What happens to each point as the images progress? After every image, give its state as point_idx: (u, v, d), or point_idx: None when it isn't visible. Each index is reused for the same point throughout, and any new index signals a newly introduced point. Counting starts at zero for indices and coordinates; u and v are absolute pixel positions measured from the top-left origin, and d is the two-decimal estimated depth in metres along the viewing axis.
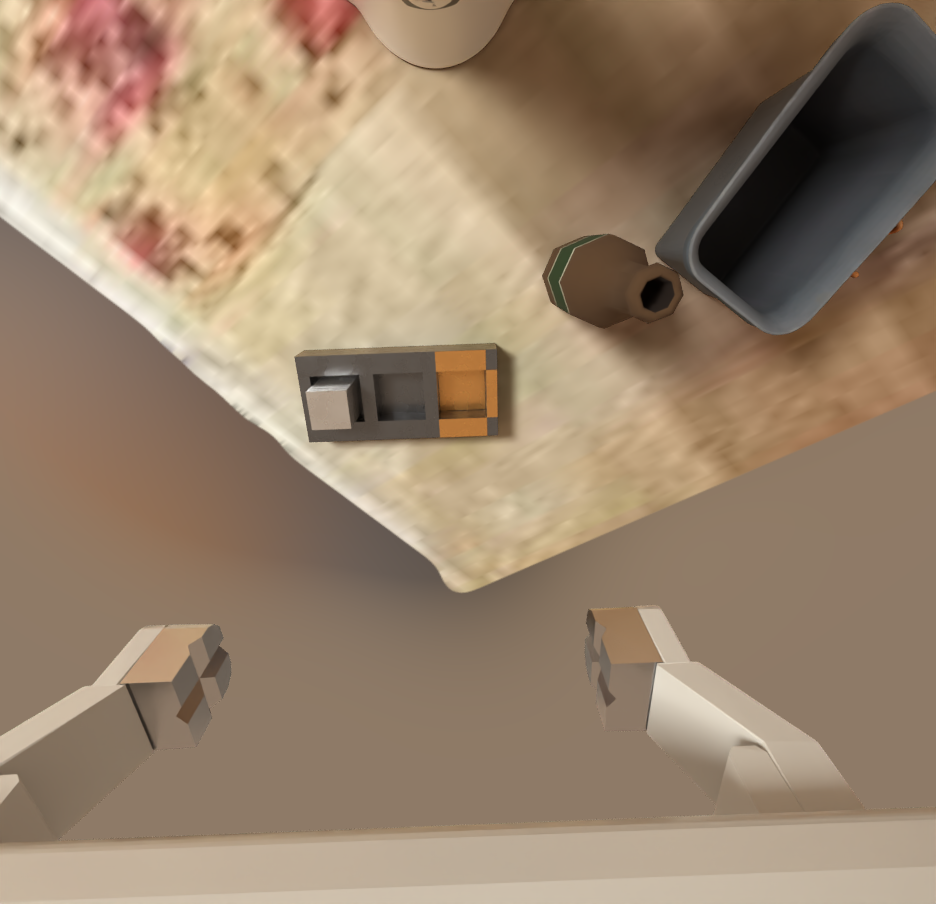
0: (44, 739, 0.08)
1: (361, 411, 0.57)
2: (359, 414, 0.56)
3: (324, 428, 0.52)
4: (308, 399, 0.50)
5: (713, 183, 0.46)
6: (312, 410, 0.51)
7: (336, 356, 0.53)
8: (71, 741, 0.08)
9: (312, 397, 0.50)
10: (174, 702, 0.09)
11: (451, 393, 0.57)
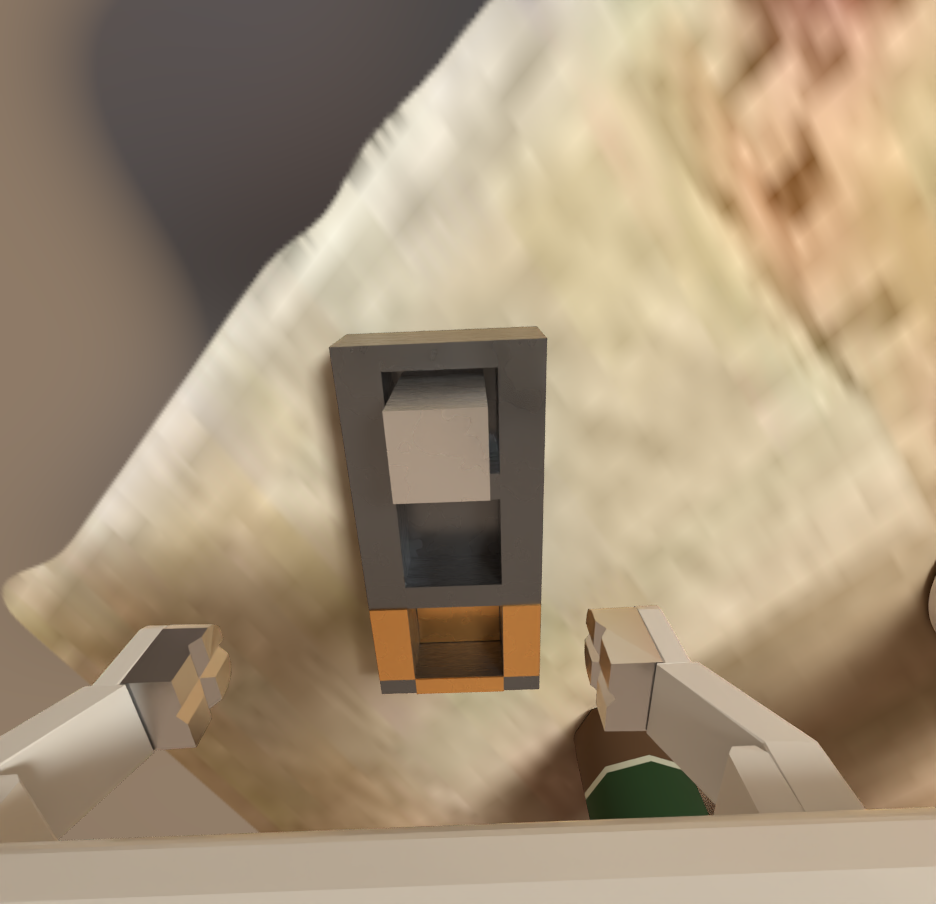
0: (45, 739, 0.08)
1: None
2: None
3: (389, 443, 0.20)
4: (467, 412, 0.19)
5: None
6: (437, 418, 0.19)
7: (541, 431, 0.24)
8: (71, 741, 0.08)
9: (473, 422, 0.19)
10: (174, 702, 0.09)
11: None
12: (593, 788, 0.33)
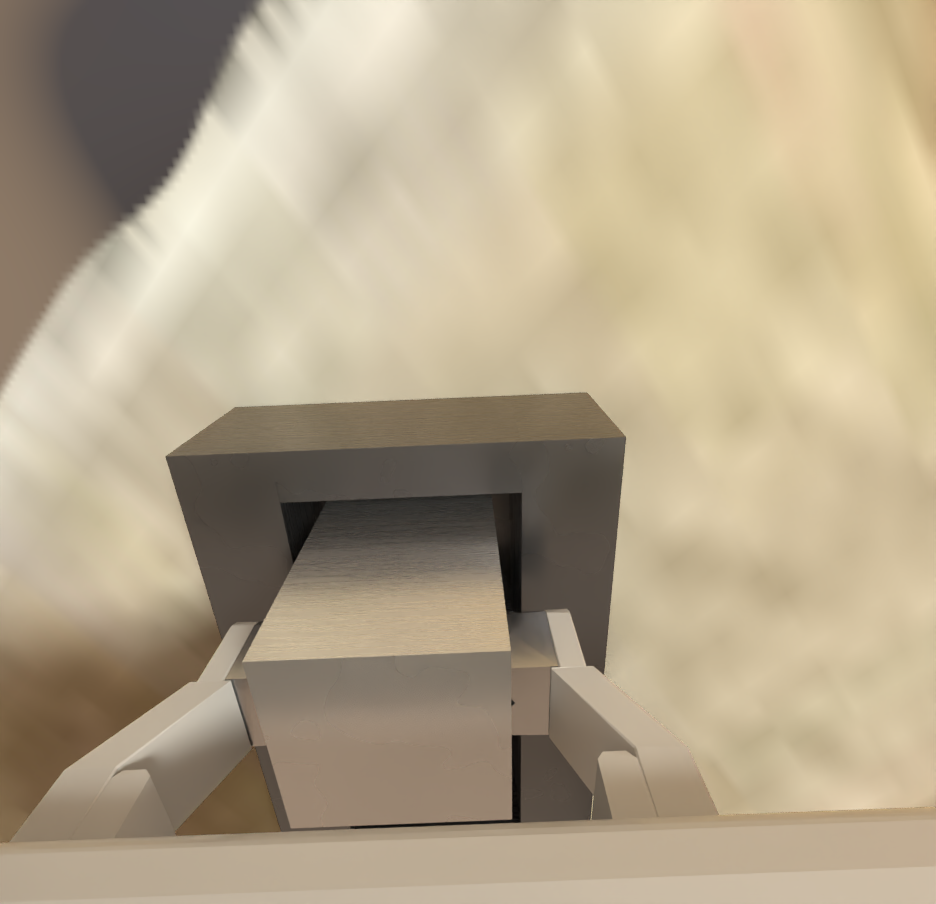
0: (164, 734, 0.08)
1: None
2: None
3: (268, 723, 0.08)
4: (459, 660, 0.08)
5: None
6: (384, 674, 0.08)
7: (604, 604, 0.12)
8: (185, 736, 0.08)
9: (473, 682, 0.08)
10: None
11: None
12: None
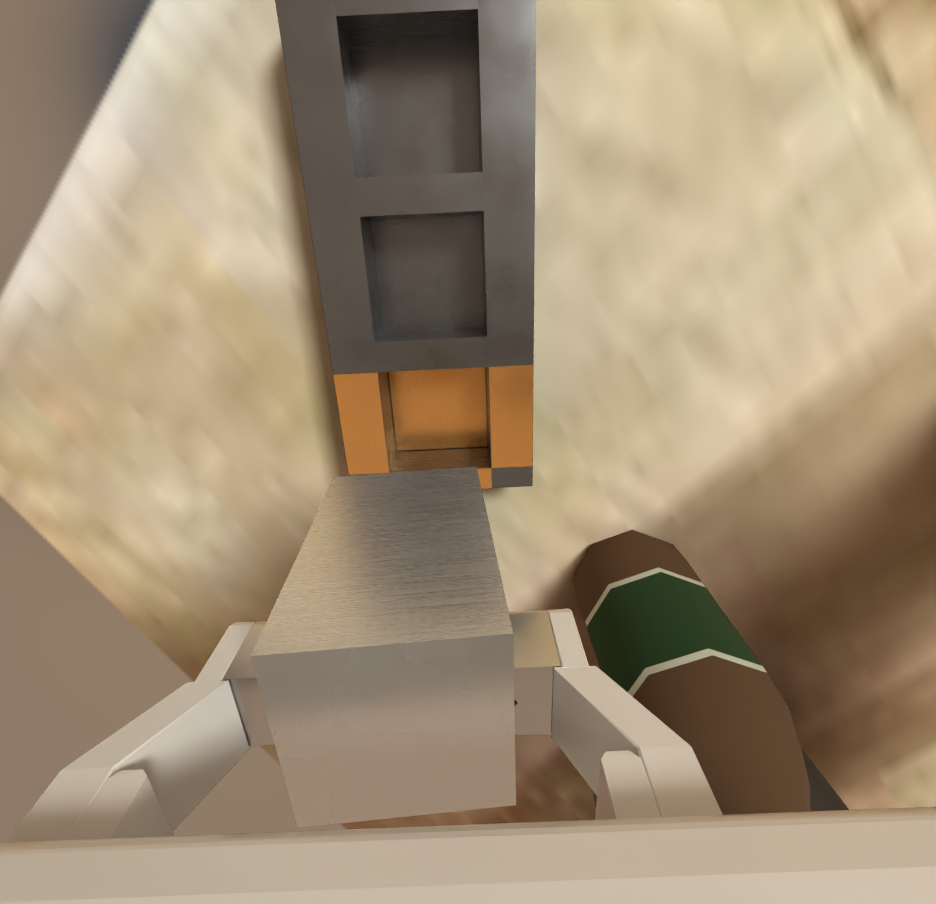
0: (162, 734, 0.08)
1: None
2: None
3: (275, 718, 0.08)
4: (463, 645, 0.08)
5: None
6: (391, 662, 0.08)
7: (531, 108, 0.20)
8: (182, 737, 0.08)
9: (477, 666, 0.08)
10: None
11: (426, 384, 0.28)
12: (594, 611, 0.29)
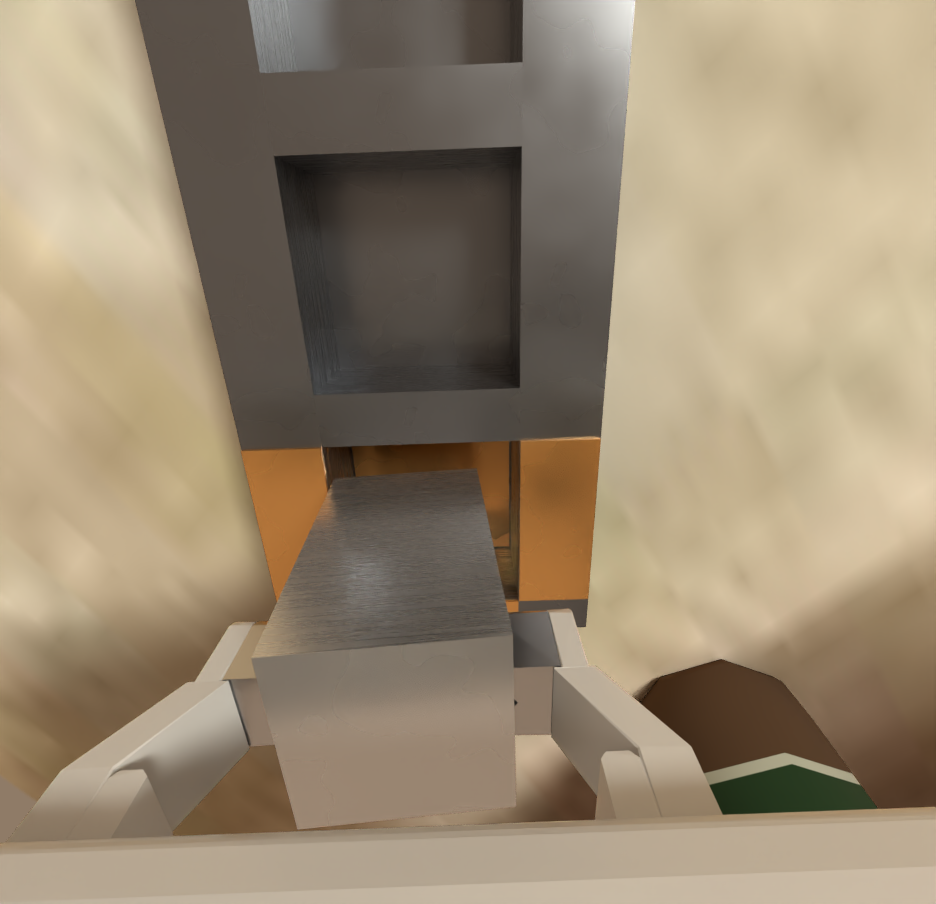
0: (161, 734, 0.08)
1: None
2: None
3: (276, 720, 0.08)
4: (463, 647, 0.08)
5: None
6: (391, 664, 0.08)
7: None
8: (182, 737, 0.08)
9: (477, 668, 0.08)
10: None
11: (412, 451, 0.17)
12: None
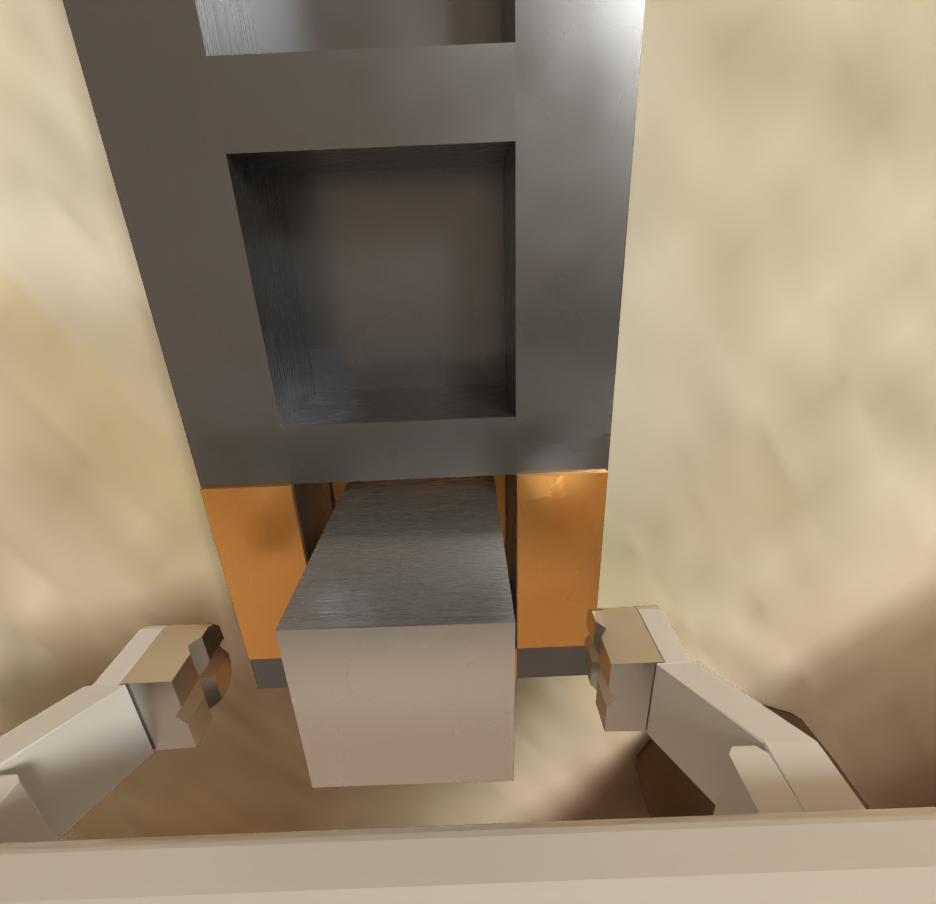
0: (45, 739, 0.08)
1: None
2: None
3: (295, 687, 0.09)
4: (469, 631, 0.09)
5: None
6: (401, 643, 0.09)
7: None
8: (71, 741, 0.08)
9: (481, 651, 0.09)
10: (173, 702, 0.09)
11: None
12: None
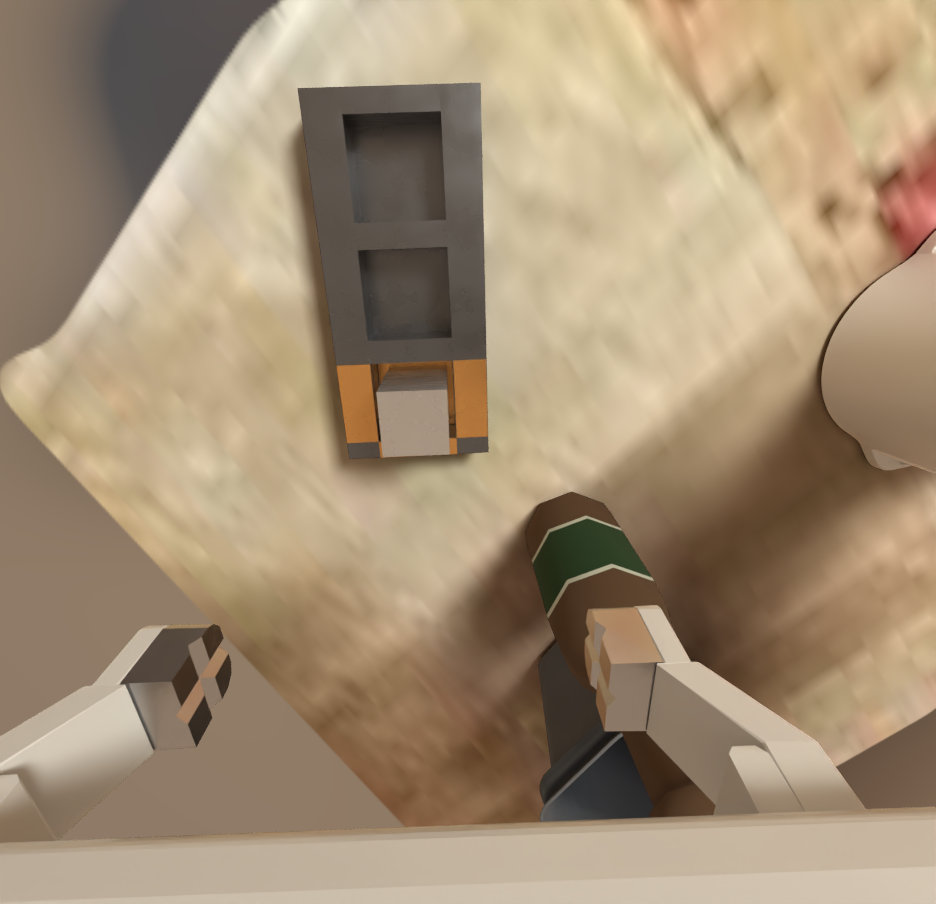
0: (46, 739, 0.08)
1: None
2: None
3: (380, 413, 0.29)
4: (433, 392, 0.29)
5: None
6: (413, 397, 0.29)
7: (479, 176, 0.28)
8: (71, 741, 0.08)
9: (437, 400, 0.29)
10: (174, 703, 0.09)
11: None
12: (538, 551, 0.37)
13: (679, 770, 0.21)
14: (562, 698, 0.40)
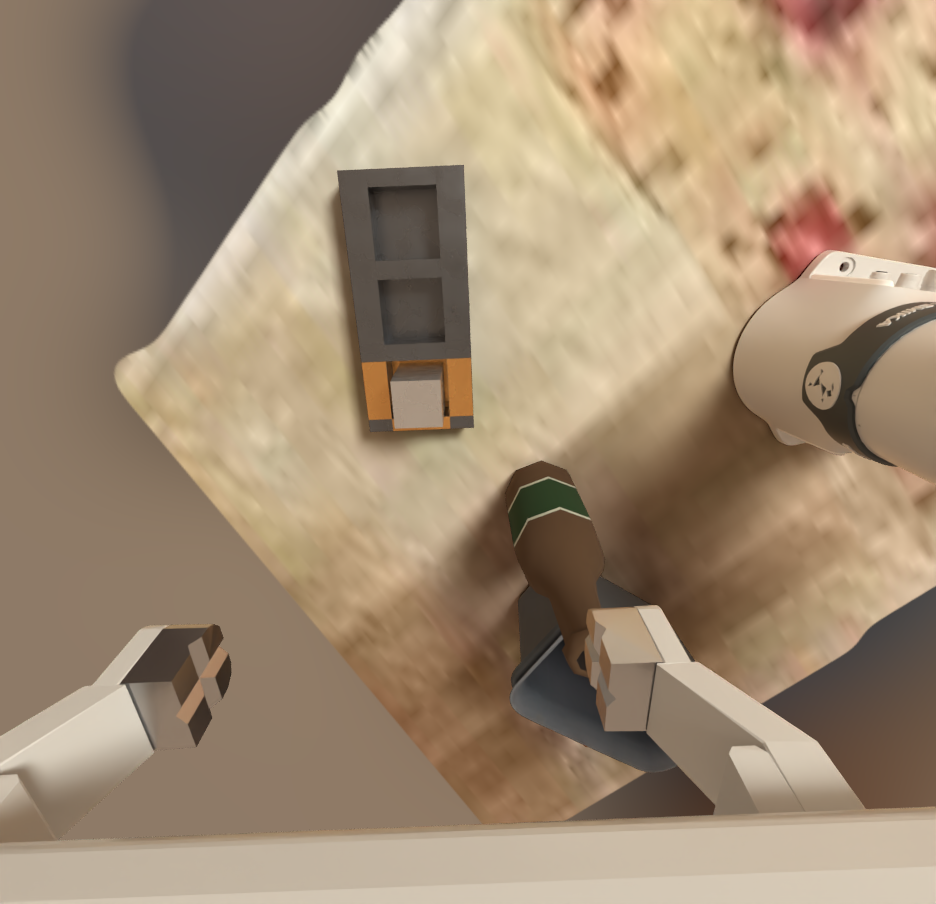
0: (45, 739, 0.08)
1: None
2: None
3: (393, 397, 0.41)
4: (430, 382, 0.41)
5: (615, 599, 0.54)
6: (416, 385, 0.41)
7: (464, 228, 0.40)
8: (71, 741, 0.08)
9: (433, 387, 0.41)
10: (174, 702, 0.09)
11: None
12: (512, 503, 0.49)
13: (582, 623, 0.32)
14: (532, 620, 0.52)
